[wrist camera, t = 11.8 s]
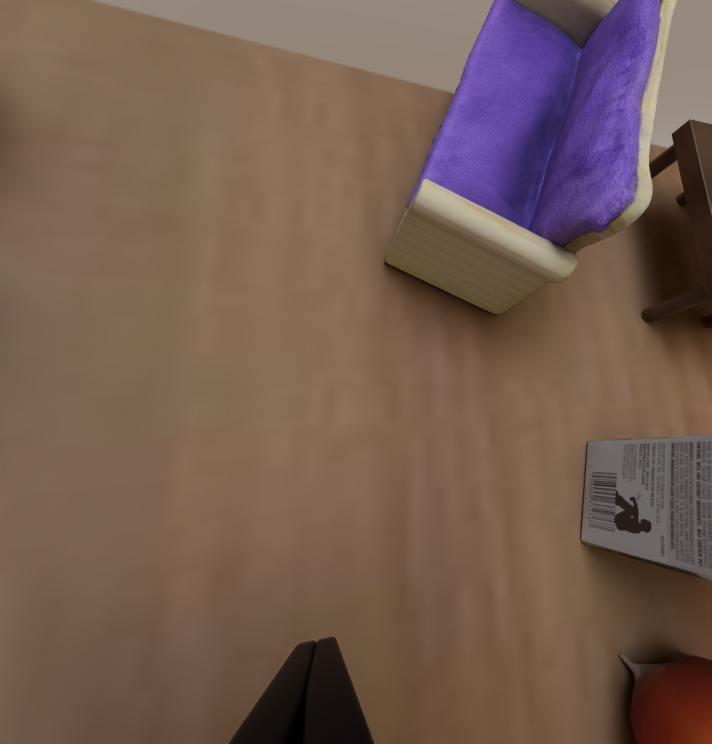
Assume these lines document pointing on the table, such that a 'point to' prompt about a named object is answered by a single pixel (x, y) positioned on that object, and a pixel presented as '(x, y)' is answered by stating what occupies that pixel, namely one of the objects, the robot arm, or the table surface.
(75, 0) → the table surface
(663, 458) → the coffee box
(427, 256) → the toy sofa
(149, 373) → the table surface
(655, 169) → the coffee table
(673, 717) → the fruit
